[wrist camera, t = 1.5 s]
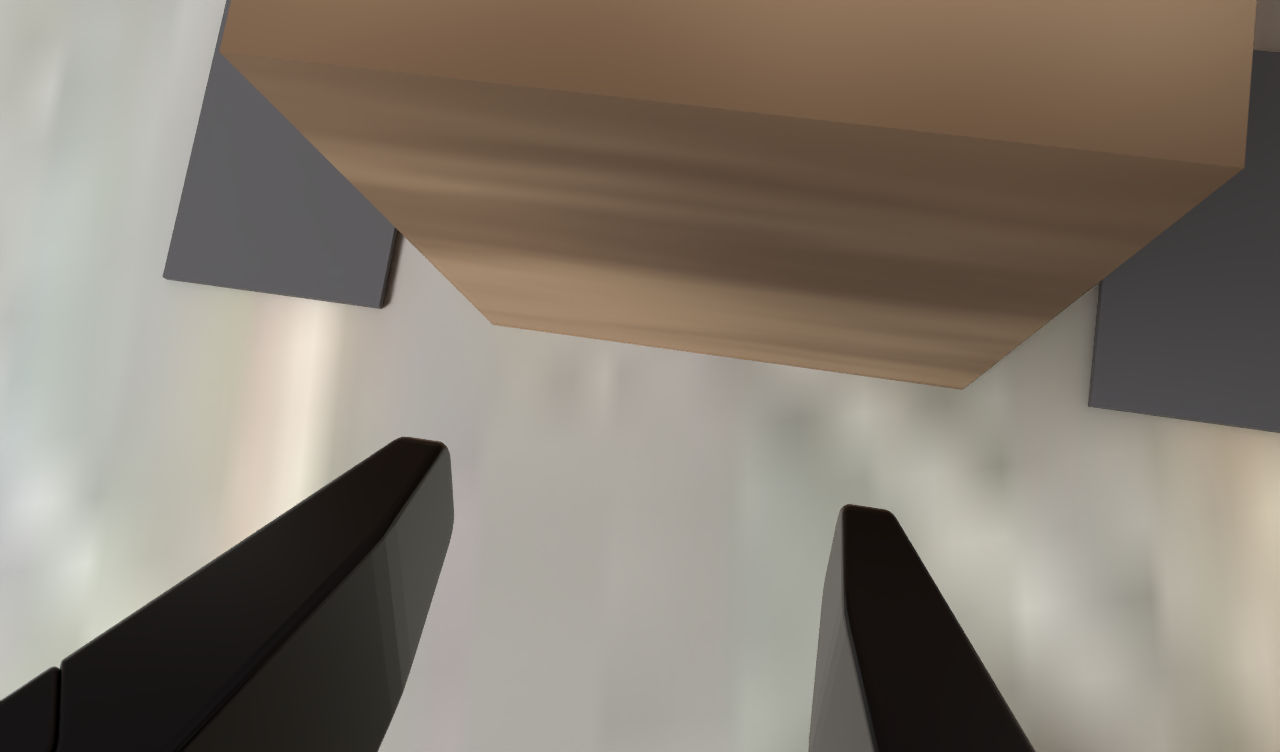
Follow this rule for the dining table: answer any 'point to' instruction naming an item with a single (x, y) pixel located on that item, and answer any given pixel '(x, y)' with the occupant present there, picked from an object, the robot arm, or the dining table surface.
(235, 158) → the mats
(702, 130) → the walnut block
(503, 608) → the dining table surface
